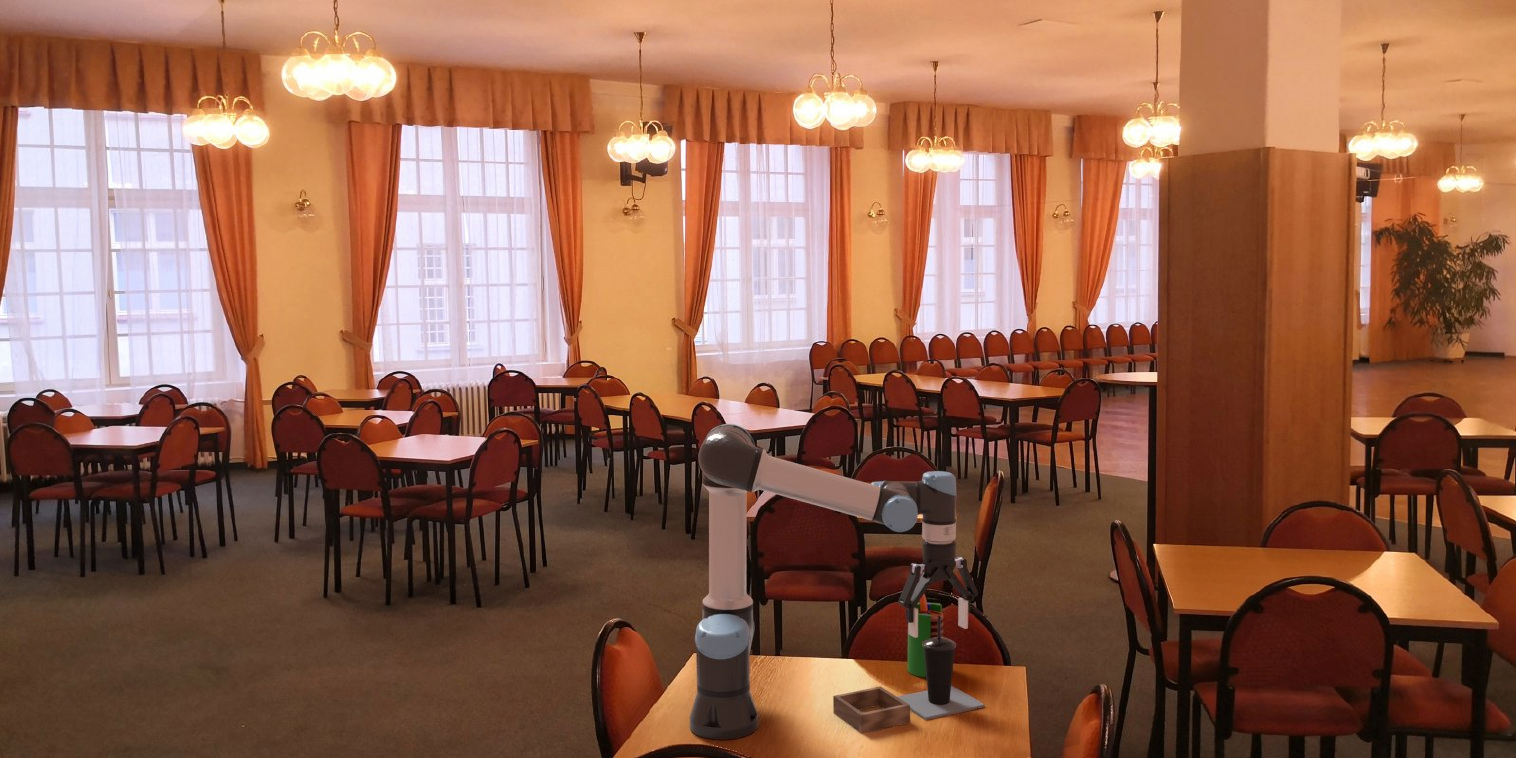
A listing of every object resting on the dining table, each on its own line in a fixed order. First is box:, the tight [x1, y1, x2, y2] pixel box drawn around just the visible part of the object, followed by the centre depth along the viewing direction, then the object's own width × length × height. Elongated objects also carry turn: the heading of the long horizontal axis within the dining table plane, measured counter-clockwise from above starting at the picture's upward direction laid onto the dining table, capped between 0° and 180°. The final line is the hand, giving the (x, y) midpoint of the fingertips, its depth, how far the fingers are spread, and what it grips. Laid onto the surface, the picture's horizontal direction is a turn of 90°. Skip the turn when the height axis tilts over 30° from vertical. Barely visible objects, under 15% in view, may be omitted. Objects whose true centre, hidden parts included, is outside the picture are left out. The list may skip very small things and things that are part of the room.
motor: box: [907, 593, 944, 678], centre depth 277 cm, size 10×9×20 cm
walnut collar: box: [832, 686, 911, 734], centre depth 249 cm, size 12×12×4 cm
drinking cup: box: [922, 616, 957, 705], centre depth 255 cm, size 8×8×20 cm
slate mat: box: [897, 684, 986, 721], centre depth 257 cm, size 16×13×1 cm
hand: (938, 631), depth 255 cm, fingers open, 13 cm apart
